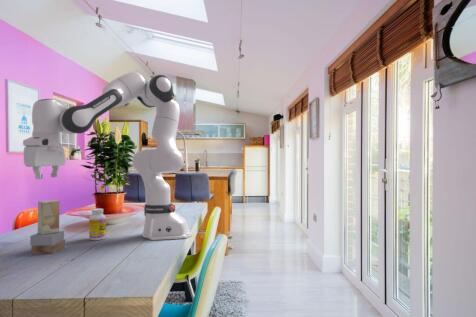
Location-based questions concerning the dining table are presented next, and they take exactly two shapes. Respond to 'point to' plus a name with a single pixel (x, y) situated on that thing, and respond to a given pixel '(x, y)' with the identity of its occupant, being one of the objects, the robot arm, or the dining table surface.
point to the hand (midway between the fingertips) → (46, 178)
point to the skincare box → (48, 217)
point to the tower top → (46, 239)
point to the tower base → (48, 248)
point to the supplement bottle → (97, 225)
